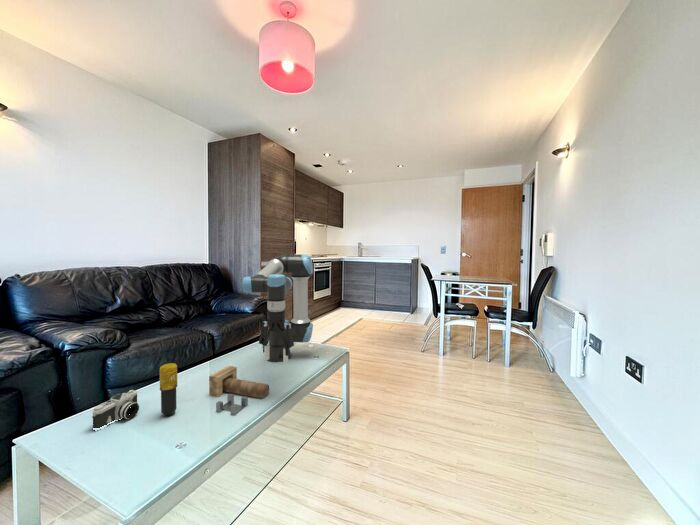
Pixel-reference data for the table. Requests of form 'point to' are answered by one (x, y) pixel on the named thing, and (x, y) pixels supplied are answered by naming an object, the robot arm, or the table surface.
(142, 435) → the table surface
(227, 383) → the axle
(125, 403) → the camera
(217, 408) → the grey h-shaped block
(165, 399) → the microphone
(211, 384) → the wooden arch block
